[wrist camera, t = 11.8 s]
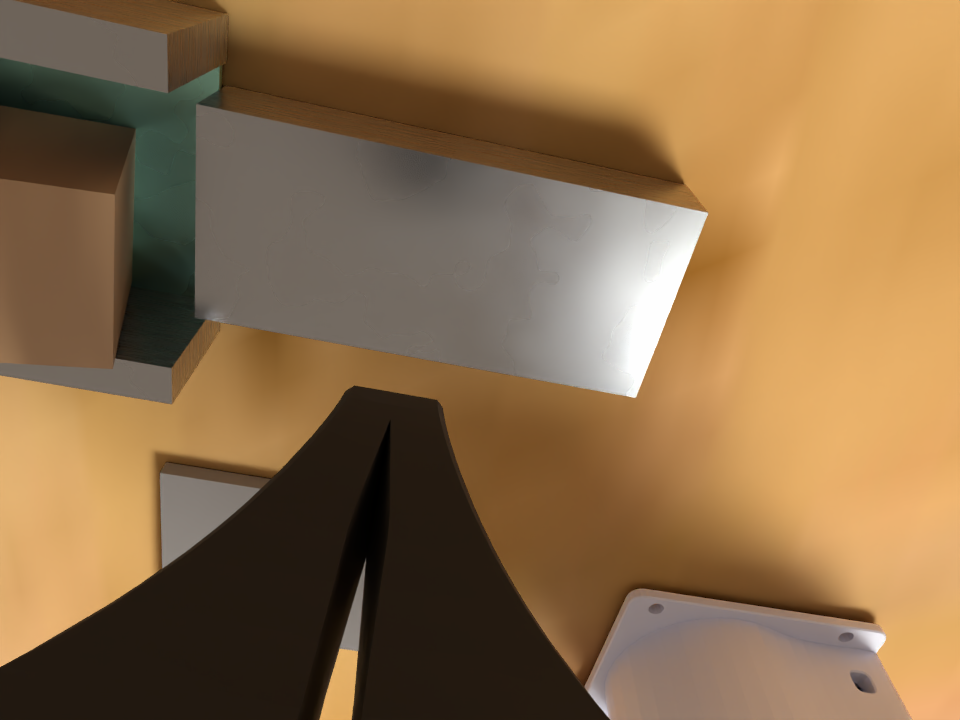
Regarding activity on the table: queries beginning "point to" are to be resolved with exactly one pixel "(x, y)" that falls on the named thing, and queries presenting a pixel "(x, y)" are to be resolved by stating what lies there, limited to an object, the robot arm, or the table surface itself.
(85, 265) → the walnut block
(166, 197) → the rail
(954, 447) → the table surface
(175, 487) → the rubber pad
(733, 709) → the robot arm
